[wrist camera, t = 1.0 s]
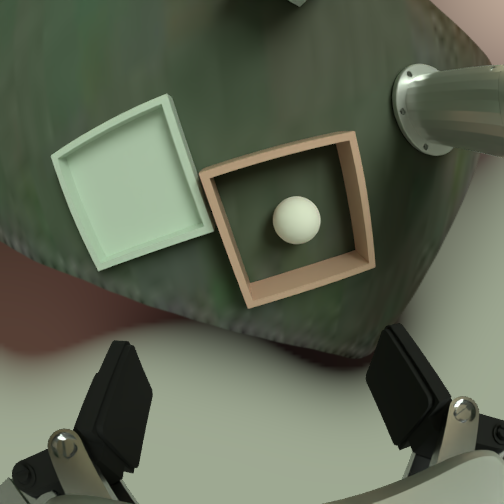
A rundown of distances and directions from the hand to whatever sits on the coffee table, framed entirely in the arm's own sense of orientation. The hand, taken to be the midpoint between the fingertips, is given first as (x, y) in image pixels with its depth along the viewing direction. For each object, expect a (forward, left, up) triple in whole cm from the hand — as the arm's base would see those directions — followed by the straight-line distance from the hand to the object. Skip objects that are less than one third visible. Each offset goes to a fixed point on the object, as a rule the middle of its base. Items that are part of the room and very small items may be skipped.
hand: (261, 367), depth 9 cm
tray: (+11, -7, -22) cm, 26 cm away
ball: (-6, +2, -20) cm, 21 cm away
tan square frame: (-6, +2, -22) cm, 23 cm away
